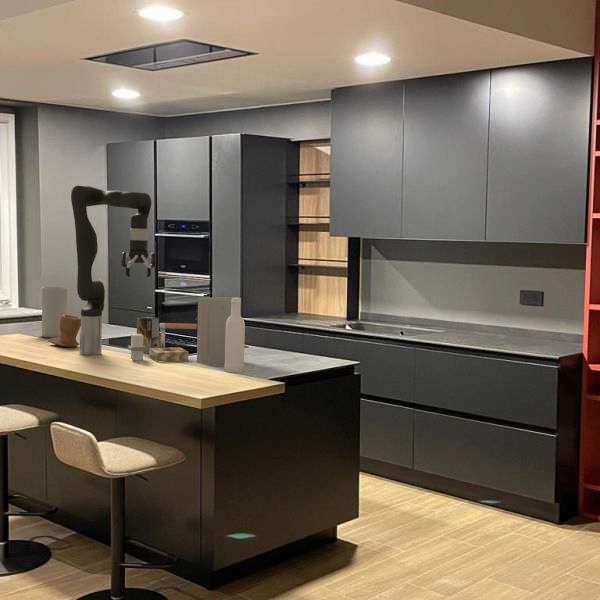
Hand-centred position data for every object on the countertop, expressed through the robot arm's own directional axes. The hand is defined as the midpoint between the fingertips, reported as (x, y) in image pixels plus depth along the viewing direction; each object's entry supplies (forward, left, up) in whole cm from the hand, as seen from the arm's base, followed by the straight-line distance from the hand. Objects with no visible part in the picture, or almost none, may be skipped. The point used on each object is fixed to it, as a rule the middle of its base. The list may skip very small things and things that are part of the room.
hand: (138, 276), depth 368 cm
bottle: (+32, -37, -36) cm, 61 cm away
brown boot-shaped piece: (-23, +49, -36) cm, 65 cm away
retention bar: (+20, +9, -24) cm, 32 cm away
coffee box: (+10, +22, -36) cm, 44 cm away
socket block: (+14, 0, -36) cm, 39 cm away
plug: (0, 0, -36) cm, 36 cm away
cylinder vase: (-24, +86, -36) cm, 96 cm away
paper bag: (+34, -17, -36) cm, 53 cm away
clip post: (+14, +11, -36) cm, 40 cm away
